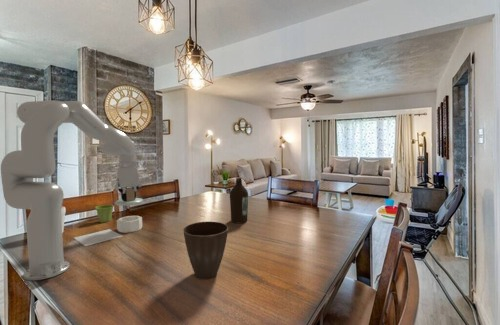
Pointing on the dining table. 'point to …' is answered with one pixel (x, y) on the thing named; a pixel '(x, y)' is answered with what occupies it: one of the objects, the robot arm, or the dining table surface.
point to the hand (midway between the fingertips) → (129, 199)
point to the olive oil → (239, 202)
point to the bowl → (129, 224)
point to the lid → (129, 198)
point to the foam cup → (63, 217)
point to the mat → (97, 237)
